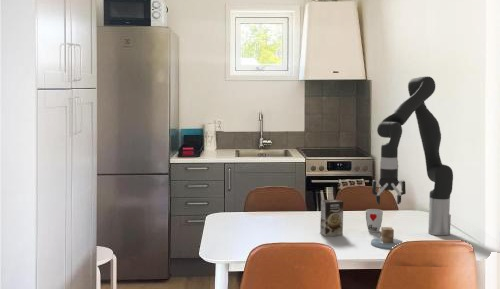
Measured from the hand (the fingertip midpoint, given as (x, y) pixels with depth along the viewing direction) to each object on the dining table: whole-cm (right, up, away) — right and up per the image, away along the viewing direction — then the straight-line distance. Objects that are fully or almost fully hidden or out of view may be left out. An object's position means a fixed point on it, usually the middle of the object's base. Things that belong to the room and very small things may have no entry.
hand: (388, 203), depth 247 cm
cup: (-1, -16, +26) cm, 30 cm away
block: (0, -17, +1) cm, 17 cm away
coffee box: (-22, -17, +20) cm, 34 cm away
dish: (0, -18, +2) cm, 18 cm away
